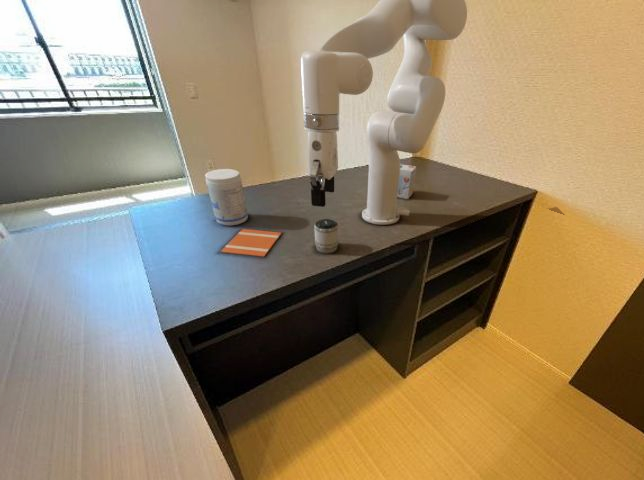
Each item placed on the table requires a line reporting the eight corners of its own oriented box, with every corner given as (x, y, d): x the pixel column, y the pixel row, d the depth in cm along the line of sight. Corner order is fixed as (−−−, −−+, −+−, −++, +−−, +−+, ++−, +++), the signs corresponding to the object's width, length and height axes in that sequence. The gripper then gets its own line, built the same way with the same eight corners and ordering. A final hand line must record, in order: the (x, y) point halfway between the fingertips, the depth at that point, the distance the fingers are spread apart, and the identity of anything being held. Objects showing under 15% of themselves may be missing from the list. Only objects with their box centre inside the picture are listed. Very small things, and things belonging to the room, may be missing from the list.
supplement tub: (210, 219, 94) (197, 173, 85) (238, 210, 100) (228, 166, 91) (227, 230, 89) (215, 181, 80) (254, 219, 95) (246, 173, 86)
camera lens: (318, 255, 79) (317, 229, 75) (312, 244, 84) (311, 218, 79) (341, 251, 81) (341, 225, 77) (334, 240, 86) (333, 215, 81)
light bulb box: (382, 194, 116) (384, 166, 110) (387, 189, 121) (389, 162, 115) (408, 199, 113) (412, 171, 107) (413, 193, 118) (416, 166, 112)
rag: (281, 233, 88) (281, 232, 88) (264, 257, 78) (264, 255, 78) (243, 229, 89) (242, 228, 89) (220, 252, 79) (220, 251, 79)
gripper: (329, 130, 57) (330, 213, 66) (346, 117, 71) (344, 188, 81) (291, 127, 57) (298, 210, 67) (315, 115, 72) (317, 185, 81)
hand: (323, 198), depth 74 cm, fingers open, 9 cm apart
